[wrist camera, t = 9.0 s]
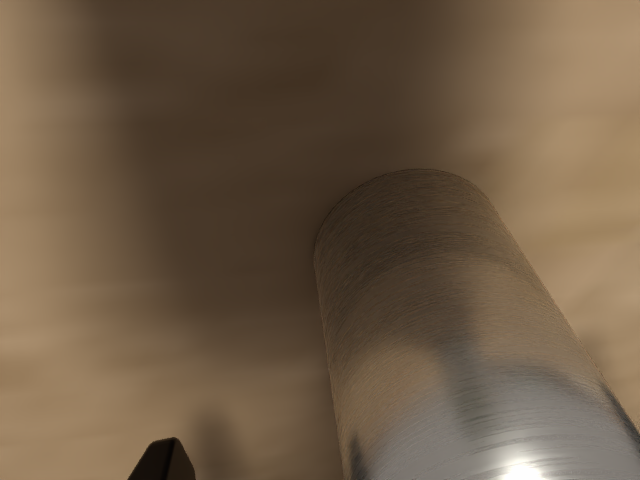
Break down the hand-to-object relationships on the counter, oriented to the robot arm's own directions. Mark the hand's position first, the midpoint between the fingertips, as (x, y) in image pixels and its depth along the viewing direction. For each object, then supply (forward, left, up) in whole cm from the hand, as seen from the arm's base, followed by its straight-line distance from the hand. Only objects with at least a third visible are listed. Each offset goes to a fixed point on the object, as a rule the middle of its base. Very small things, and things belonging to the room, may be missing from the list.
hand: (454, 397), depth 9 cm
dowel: (0, 0, -4) cm, 4 cm away
